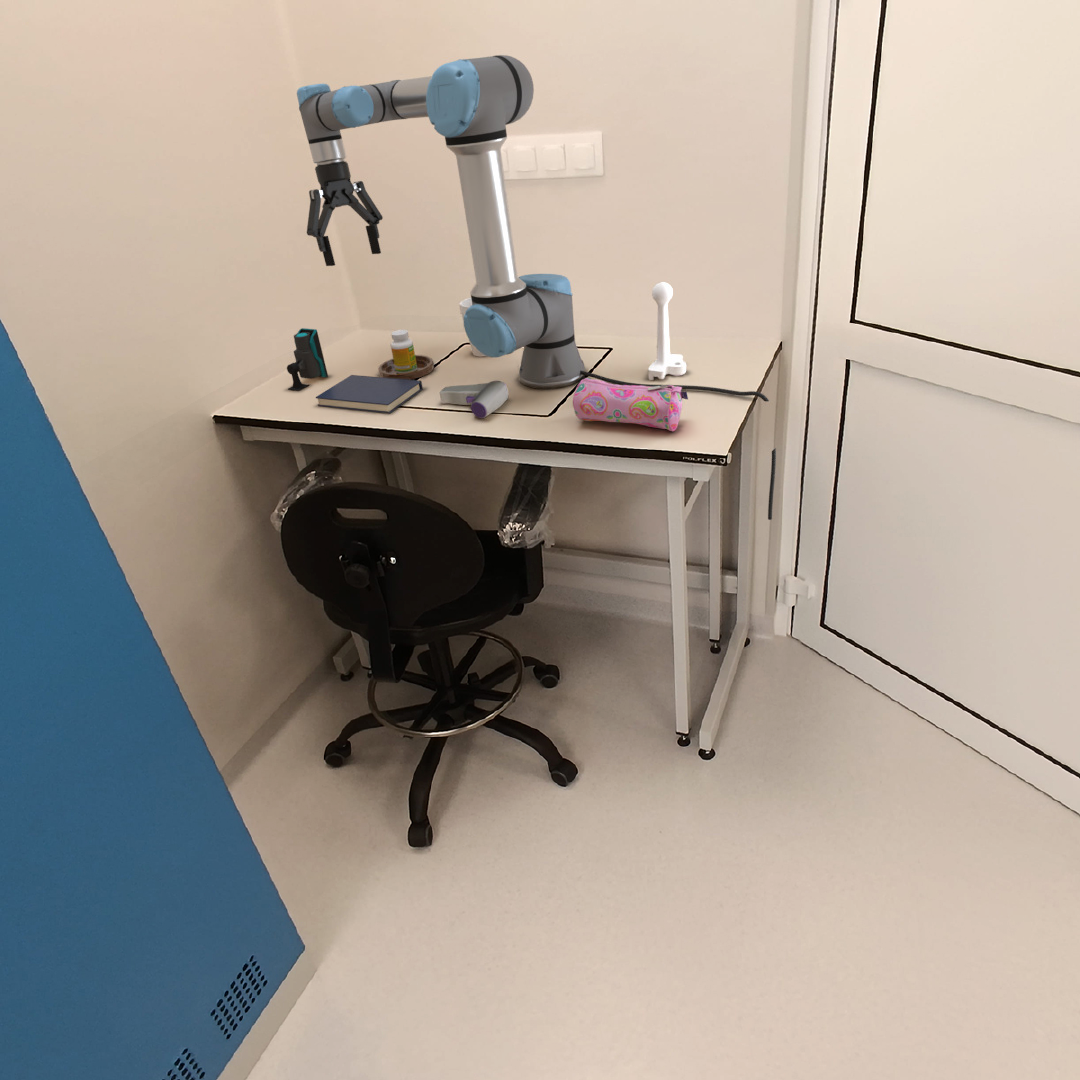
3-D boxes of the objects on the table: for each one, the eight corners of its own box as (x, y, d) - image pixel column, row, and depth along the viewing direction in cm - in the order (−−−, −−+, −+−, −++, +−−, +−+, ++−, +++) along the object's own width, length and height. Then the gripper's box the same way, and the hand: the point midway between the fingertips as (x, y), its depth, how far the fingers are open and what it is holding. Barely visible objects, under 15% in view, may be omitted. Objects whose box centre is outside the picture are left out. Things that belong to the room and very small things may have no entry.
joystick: (665, 362, 187) (664, 274, 177) (695, 365, 183) (696, 276, 173) (644, 379, 180) (641, 289, 169) (675, 383, 176) (674, 291, 165)
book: (423, 389, 187) (421, 380, 186) (389, 413, 177) (388, 404, 176) (353, 383, 195) (351, 374, 194) (317, 406, 185) (315, 397, 184)
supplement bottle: (415, 373, 196) (408, 334, 191) (394, 375, 197) (386, 336, 191) (419, 365, 201) (412, 327, 196) (397, 367, 201) (390, 329, 196)
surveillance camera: (271, 341, 190) (300, 328, 197) (285, 389, 196) (312, 374, 203) (289, 343, 187) (318, 329, 195) (302, 391, 194) (329, 376, 201)
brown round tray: (445, 366, 199) (443, 359, 198) (405, 385, 191) (403, 377, 190) (408, 358, 207) (407, 351, 206) (368, 376, 198) (367, 369, 198)
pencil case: (688, 419, 159) (688, 376, 154) (674, 439, 152) (674, 394, 148) (589, 409, 168) (586, 368, 163) (571, 427, 161) (568, 385, 156)
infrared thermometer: (450, 400, 182) (511, 398, 177) (427, 422, 173) (491, 421, 167) (446, 381, 180) (507, 378, 175) (422, 402, 170) (486, 400, 165)
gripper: (364, 157, 193) (385, 249, 202) (274, 172, 177) (301, 271, 187) (383, 153, 188) (403, 248, 197) (292, 168, 172) (319, 270, 182)
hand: (354, 259), depth 192 cm, fingers open, 13 cm apart
